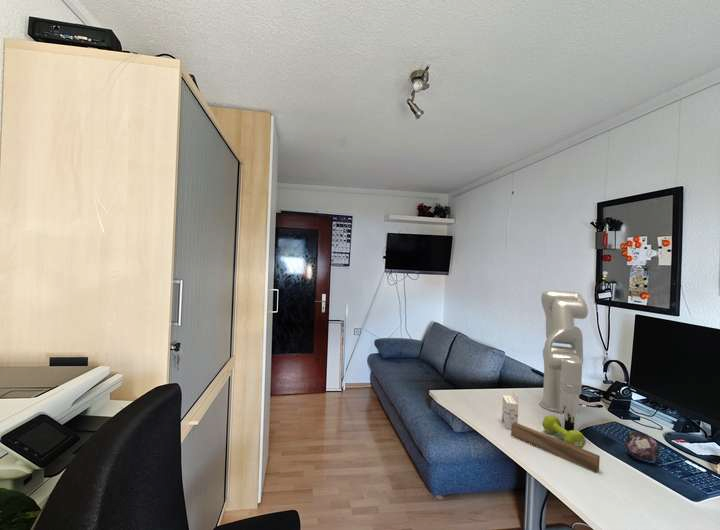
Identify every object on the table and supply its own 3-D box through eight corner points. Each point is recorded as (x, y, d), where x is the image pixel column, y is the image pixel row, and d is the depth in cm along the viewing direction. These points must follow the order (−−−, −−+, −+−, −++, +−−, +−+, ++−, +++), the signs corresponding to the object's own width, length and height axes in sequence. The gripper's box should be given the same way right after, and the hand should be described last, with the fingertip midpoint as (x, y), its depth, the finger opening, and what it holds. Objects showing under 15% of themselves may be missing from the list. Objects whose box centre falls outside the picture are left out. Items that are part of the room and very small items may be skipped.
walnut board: (514, 433, 138) (514, 422, 138) (599, 469, 115) (599, 455, 115) (511, 435, 136) (511, 424, 136) (596, 472, 113) (597, 458, 113)
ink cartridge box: (501, 419, 150) (502, 388, 150) (512, 421, 149) (513, 389, 149) (505, 428, 142) (506, 395, 142) (517, 430, 141) (519, 396, 141)
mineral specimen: (616, 449, 125) (622, 424, 126) (631, 456, 128) (637, 431, 130) (646, 464, 116) (653, 436, 117) (661, 470, 119) (668, 443, 121)
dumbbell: (587, 451, 126) (588, 433, 126) (569, 452, 125) (569, 434, 125) (556, 430, 142) (557, 414, 142) (540, 430, 141) (540, 414, 141)
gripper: (566, 381, 145) (565, 422, 145) (554, 389, 136) (552, 432, 136) (586, 386, 140) (584, 429, 140) (575, 394, 130) (573, 440, 130)
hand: (569, 430), depth 138 cm, fingers closed
